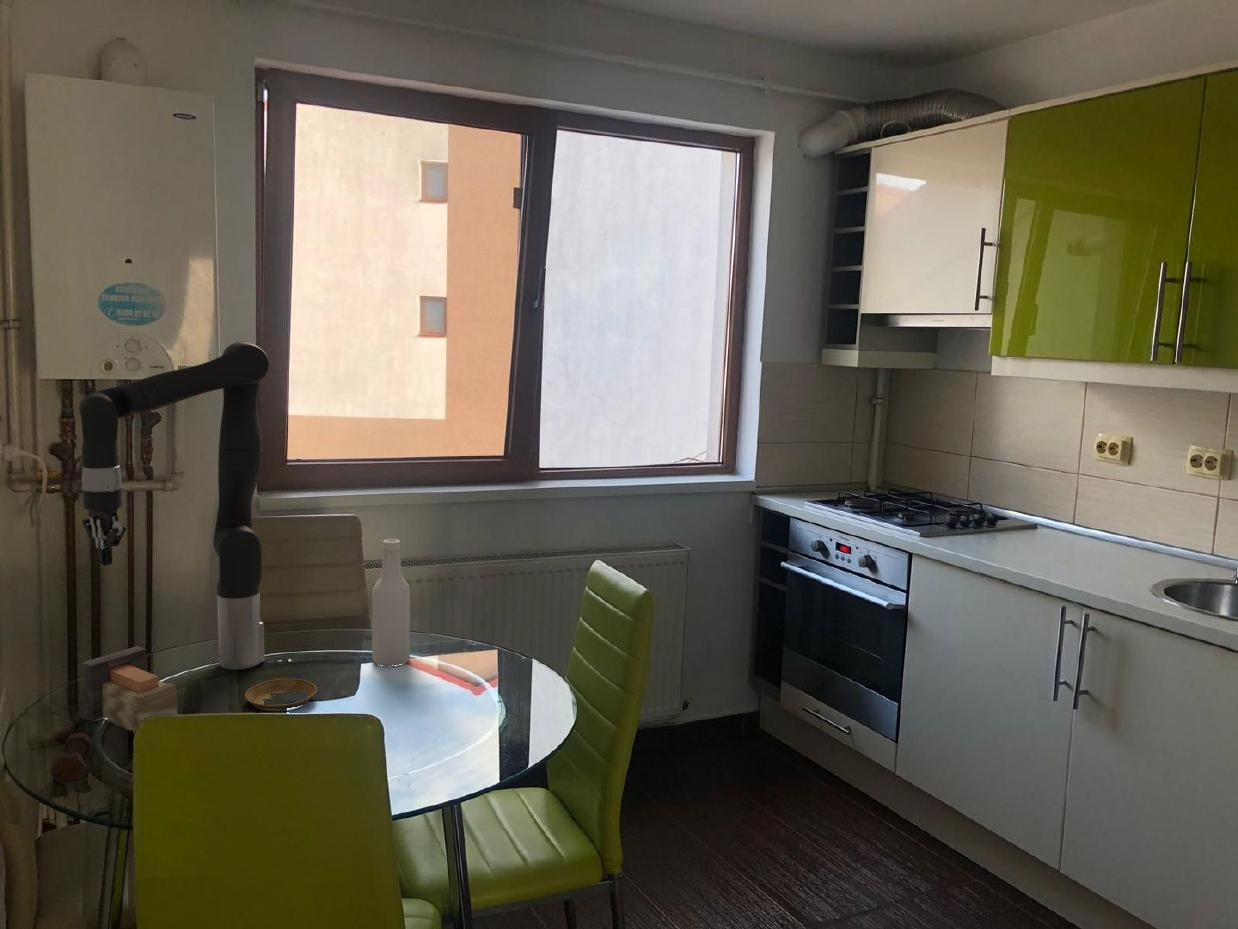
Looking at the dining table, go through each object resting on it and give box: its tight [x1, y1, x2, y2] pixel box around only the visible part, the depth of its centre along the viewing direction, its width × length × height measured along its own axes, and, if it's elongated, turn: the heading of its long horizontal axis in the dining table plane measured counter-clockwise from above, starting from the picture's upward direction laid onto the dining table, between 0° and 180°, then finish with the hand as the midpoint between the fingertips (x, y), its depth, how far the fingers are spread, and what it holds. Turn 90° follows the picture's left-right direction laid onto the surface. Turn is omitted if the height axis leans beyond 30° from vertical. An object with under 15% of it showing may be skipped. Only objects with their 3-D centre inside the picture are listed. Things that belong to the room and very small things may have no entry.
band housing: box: [81, 645, 178, 734], centre depth 204 cm, size 16×12×12 cm
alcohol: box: [371, 538, 411, 666], centre depth 239 cm, size 9×9×30 cm
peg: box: [109, 663, 159, 694], centre depth 205 cm, size 13×4×4 cm, turn 58°
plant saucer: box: [244, 678, 318, 713], centre depth 216 cm, size 15×15×3 cm
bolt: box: [49, 729, 94, 784], centre depth 186 cm, size 6×5×15 cm
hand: (105, 564), depth 218 cm, fingers closed
